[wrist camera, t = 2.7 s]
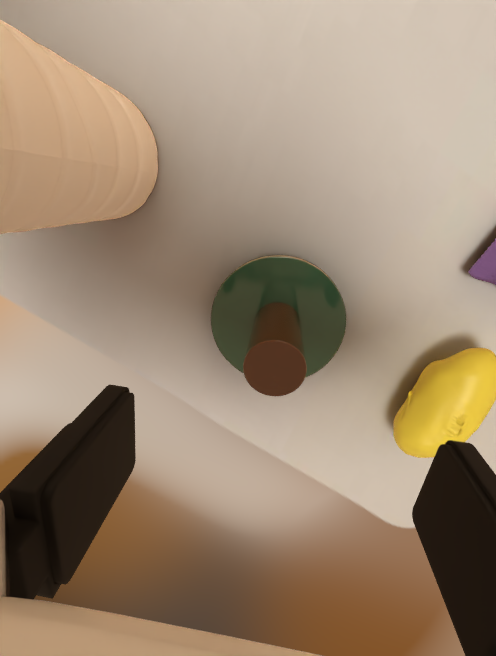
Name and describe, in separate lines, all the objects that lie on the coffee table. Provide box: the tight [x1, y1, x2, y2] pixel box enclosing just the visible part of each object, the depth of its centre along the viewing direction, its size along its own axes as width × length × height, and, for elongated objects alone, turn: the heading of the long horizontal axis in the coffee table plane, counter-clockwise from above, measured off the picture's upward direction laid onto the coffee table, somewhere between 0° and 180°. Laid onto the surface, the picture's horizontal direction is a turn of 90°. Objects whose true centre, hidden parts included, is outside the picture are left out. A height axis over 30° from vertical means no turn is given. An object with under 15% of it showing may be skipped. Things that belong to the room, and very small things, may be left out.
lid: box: [211, 255, 346, 396], centre depth 18 cm, size 8×8×7 cm
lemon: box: [394, 348, 496, 458], centre depth 19 cm, size 4×8×4 cm, turn 153°
